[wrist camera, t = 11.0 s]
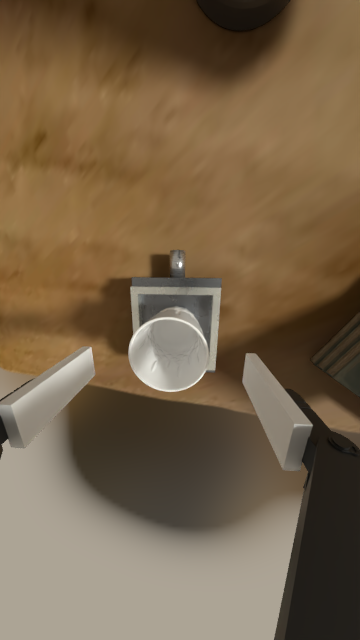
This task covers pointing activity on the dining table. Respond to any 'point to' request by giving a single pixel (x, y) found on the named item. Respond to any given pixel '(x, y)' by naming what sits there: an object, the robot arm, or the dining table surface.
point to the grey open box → (179, 300)
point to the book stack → (343, 356)
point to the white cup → (169, 350)
